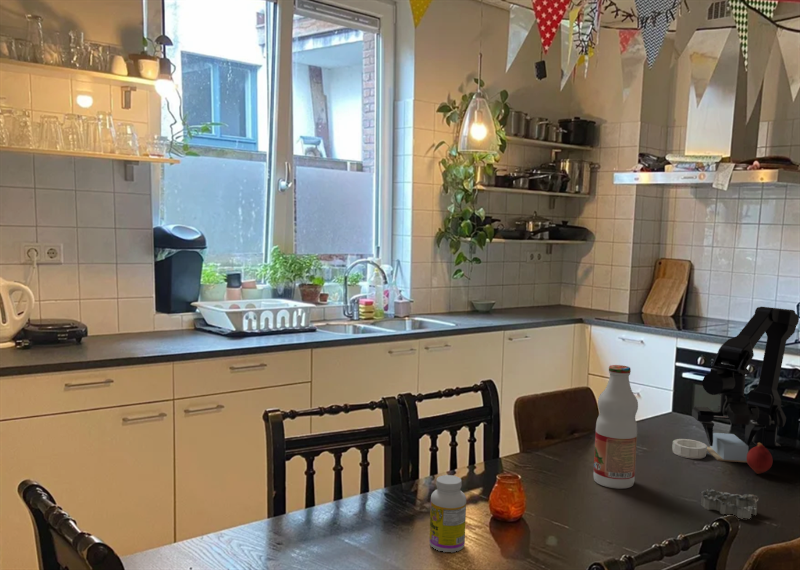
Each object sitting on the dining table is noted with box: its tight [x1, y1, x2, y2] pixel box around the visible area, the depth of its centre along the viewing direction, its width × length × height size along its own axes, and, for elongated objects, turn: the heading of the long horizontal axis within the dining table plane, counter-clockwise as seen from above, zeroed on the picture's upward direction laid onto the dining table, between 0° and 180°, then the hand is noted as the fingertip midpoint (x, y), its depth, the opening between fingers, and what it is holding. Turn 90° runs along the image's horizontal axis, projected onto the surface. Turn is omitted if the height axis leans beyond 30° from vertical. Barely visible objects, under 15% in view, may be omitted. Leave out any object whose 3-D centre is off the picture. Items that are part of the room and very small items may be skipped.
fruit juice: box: [593, 364, 639, 490], centre depth 163 cm, size 9×9×28 cm
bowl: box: [671, 438, 708, 460], centre depth 187 cm, size 8×8×3 cm
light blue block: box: [709, 432, 749, 461], centre depth 187 cm, size 11×6×4 cm, turn 173°
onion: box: [746, 443, 774, 475], centre depth 172 cm, size 6×6×8 cm
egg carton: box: [700, 488, 760, 520], centre depth 149 cm, size 11×8×4 cm
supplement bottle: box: [428, 474, 467, 553], centre depth 128 cm, size 7×7×13 cm
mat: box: [707, 445, 747, 463], centre depth 187 cm, size 11×9×1 cm
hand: (728, 446), depth 187 cm, fingers open, 9 cm apart
